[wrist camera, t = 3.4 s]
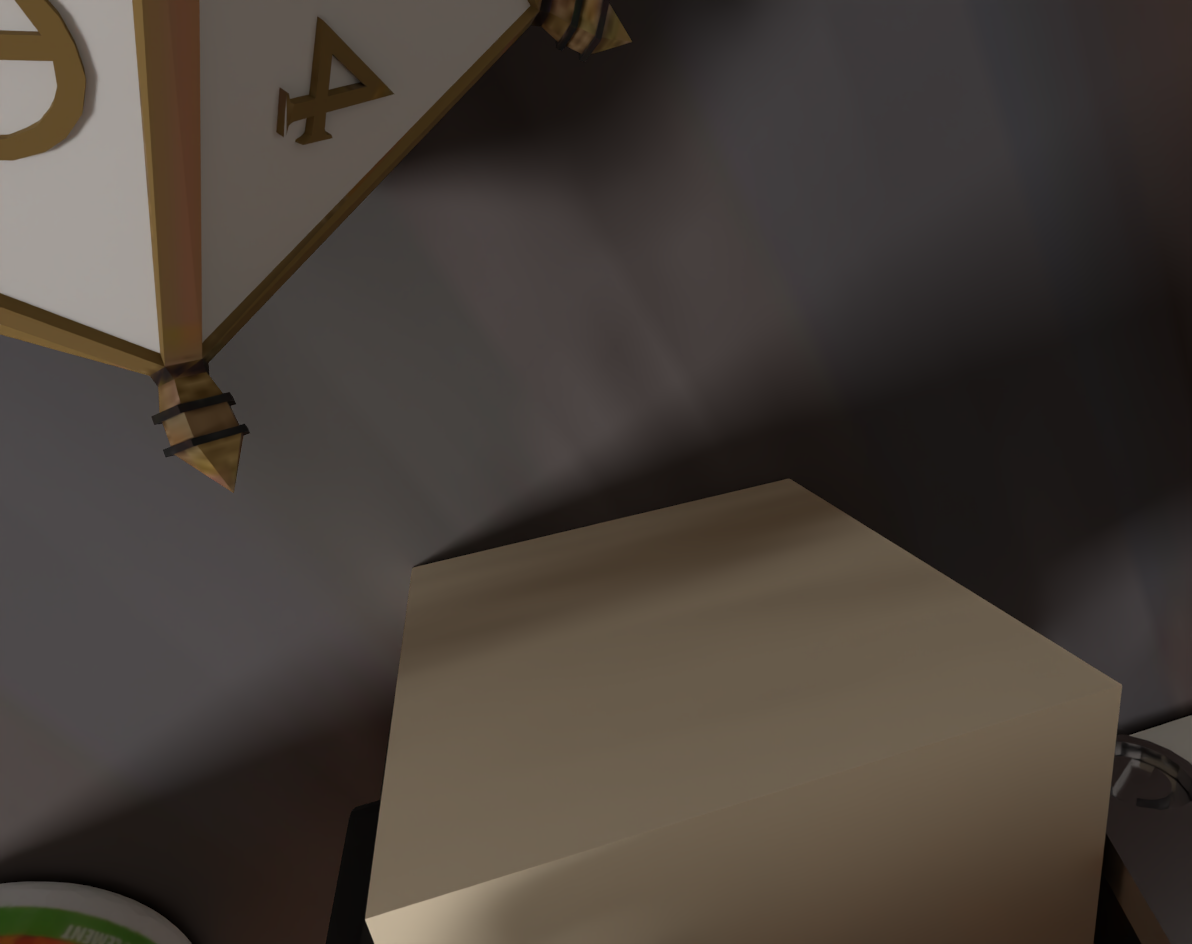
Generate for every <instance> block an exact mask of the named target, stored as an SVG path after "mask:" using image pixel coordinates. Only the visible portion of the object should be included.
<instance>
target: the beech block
mask: <svg viewBox="0 0 1192 944" xmlns="http://www.w3.org/2000/svg"><path fill="white" fill-rule="evenodd" d="M1121 691H1122V685H1121V684H1120V683H1118V682H1116V681H1115V680H1113V679H1112V678H1110V677H1108V676H1107V675H1105V674H1104V673H1102V672H1100V671H1099V670H1097V669H1096V668H1094V667H1092V666H1091V665H1089V664H1087V663H1086V662H1084V661H1083V660H1081V659H1079V658H1078V657H1076V656H1075V655H1073V654H1071V653H1070V652H1068V651H1067V650H1065V649H1063V648H1062V647H1060V646H1058V645H1057V644H1055V643H1054V642H1052V641H1050V640H1049V639H1047V638H1046V637H1044V636H1042V635H1041V634H1039V633H1037V632H1036V631H1034V630H1033V629H1031V628H1029V627H1028V626H1026V625H1025V624H1023V623H1021V622H1020V621H1018V620H1017V619H1015V618H1013V617H1012V616H1010V615H1008V614H1007V613H1005V612H1004V611H1002V610H1000V609H999V608H997V607H996V606H994V605H992V604H991V603H989V602H988V601H986V600H984V599H983V598H981V597H979V596H978V595H976V594H975V593H973V592H971V591H970V590H968V589H967V588H965V587H963V586H962V585H960V584H959V583H957V582H955V581H954V580H952V579H950V578H949V577H947V576H946V575H944V574H942V573H941V572H939V571H938V570H936V569H934V568H933V567H931V566H930V565H928V564H926V563H925V562H923V561H921V560H920V559H918V558H917V557H915V556H913V555H912V554H910V553H909V552H907V551H905V550H904V549H902V548H901V547H899V546H897V545H896V544H894V543H892V542H891V541H889V540H888V539H886V538H884V537H883V536H881V535H880V534H878V533H876V532H875V531H873V530H872V529H870V528H868V527H867V526H865V525H863V524H862V523H860V522H859V521H857V520H855V519H854V518H852V517H851V516H849V515H847V514H846V513H844V512H843V511H841V510H839V509H838V508H836V507H834V506H833V505H831V504H830V503H828V502H826V501H825V500H823V499H822V498H820V497H818V496H817V495H815V494H814V493H812V492H810V491H809V490H807V489H805V488H804V487H802V486H801V485H799V484H797V483H796V482H794V481H793V480H791V479H784V480H780V481H776V482H772V483H768V484H763V485H759V486H755V487H751V488H746V489H742V490H738V491H734V492H730V493H725V494H721V495H717V496H713V497H708V498H704V499H700V500H696V501H692V502H687V503H683V504H679V505H675V506H670V507H666V508H662V509H658V510H654V511H649V512H645V513H641V514H637V515H632V516H628V517H624V518H620V519H616V520H611V521H607V522H603V523H599V524H594V525H590V526H586V527H582V528H578V529H573V530H569V531H565V532H561V533H556V534H552V535H548V536H544V537H540V538H535V539H531V540H527V541H523V542H518V543H514V544H510V545H506V546H502V547H497V548H493V549H489V550H485V551H480V552H476V553H472V554H468V555H464V556H459V557H455V558H451V559H447V560H442V561H438V562H434V563H430V564H426V565H421V566H417V567H413V568H412V574H411V581H410V589H409V596H408V603H407V611H406V618H405V626H404V633H403V641H402V648H401V655H400V663H399V670H398V678H397V685H396V693H395V700H394V707H393V715H392V722H391V730H390V737H389V744H388V752H387V759H386V767H385V774H384V782H383V789H382V796H381V804H380V811H379V819H378V826H377V834H376V841H375V848H374V856H373V863H372V871H371V878H370V885H369V893H368V900H367V908H366V915H365V921H366V923H367V926H368V928H369V931H370V934H371V936H372V939H373V941H374V944H1093V942H1094V933H1095V924H1096V915H1097V906H1098V897H1099V888H1100V879H1101V870H1102V861H1103V852H1104V843H1105V834H1106V825H1107V817H1108V808H1109V799H1110V790H1111V781H1112V772H1113V763H1114V754H1115V745H1116V736H1117V727H1118V718H1119V709H1120V700H1121Z"/></svg>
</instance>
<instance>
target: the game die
mask: <svg viewBox="0 0 1192 944" xmlns="http://www.w3.org/2000/svg"><path fill="white" fill-rule="evenodd" d="M609 2H610V0H0V334H1V335H4V336H8V337H12V338H15V339H19V340H22V341H26V342H30V343H33V344H37V345H41V346H44V347H48V348H51V349H55V350H59V351H62V352H66V353H70V354H73V355H77V356H80V357H84V358H88V359H91V360H95V361H99V362H102V363H106V364H109V365H113V366H117V367H120V368H124V369H128V370H131V371H135V372H138V373H142V374H146V375H149V376H150V377H151V378H152V379H153V381H154V382H155V383H156V385H157V386H158V389H159V410H160V413H158V414H156V415H154V416H152V420H153V422H154V425H156V424H162V423H163V426H164V428H165V431H166V434H167V437H168V439H169V442H170V445H171V447H169V448H167V449H164V450H163V451H164V454H165V457H169V456H173V455H176V456H177V457H179V458H181V459H182V460H184V461H185V462H187V463H188V464H190V465H191V466H193V467H194V468H196V469H197V470H199V471H201V472H202V473H204V474H205V475H207V476H208V477H210V478H211V479H213V480H214V481H216V482H217V483H219V484H221V485H222V486H224V487H225V488H227V489H228V490H230V491H231V492H233V493H234V488H235V482H236V476H237V470H238V464H239V458H240V452H241V446H242V440H243V435H246V434H249V433H250V432H249V430H248V428H247V426H246V425H245V424H243V425H239V424H238V421H237V419H236V417H235V415H234V413H233V411H232V409H231V405H235V404H236V403H235V401H234V399H233V397H232V395H231V394H230V392H228V393H224V394H223V393H222V392H221V390H220V389H219V388H218V387H217V385H216V384H215V383H214V381H213V380H212V379H211V377H210V376H209V366H208V363H209V361H210V360H211V359H212V358H213V357H214V356H215V355H216V354H217V353H218V352H219V351H220V350H221V349H222V348H223V347H224V346H225V345H226V344H227V343H228V342H229V341H230V339H231V338H232V337H233V336H234V335H235V334H236V333H237V332H238V331H239V330H240V329H241V328H242V327H243V326H244V325H245V324H246V323H247V322H248V321H249V320H250V319H251V317H252V316H253V315H254V314H255V313H256V312H257V311H258V310H259V309H260V308H261V307H262V306H263V305H264V304H265V303H266V302H267V301H268V300H269V299H270V298H271V297H272V296H273V294H274V293H275V292H276V291H277V290H278V289H279V288H280V287H281V286H282V285H283V284H284V283H285V282H286V281H287V280H288V279H289V278H290V277H291V276H292V275H293V274H294V272H295V271H296V270H297V269H298V268H299V267H300V266H301V265H302V264H303V263H304V262H305V261H306V260H307V259H308V258H309V257H310V256H311V255H312V254H313V253H314V252H315V250H316V249H317V248H318V247H319V246H320V245H321V244H322V243H323V242H324V241H325V240H326V239H327V238H328V237H329V236H330V235H331V234H332V233H333V232H334V231H335V230H336V228H337V227H338V226H339V225H340V224H341V223H342V222H343V221H344V220H345V219H346V218H347V217H348V216H349V215H350V214H351V213H352V212H353V211H354V210H355V209H356V208H357V206H358V205H359V204H360V203H361V202H362V201H363V200H364V199H365V198H366V197H367V196H368V195H369V194H370V193H371V192H372V191H373V190H374V189H375V188H376V187H377V186H378V184H379V183H380V182H381V181H382V180H383V179H384V178H385V177H386V176H387V175H388V174H389V173H390V172H391V171H392V170H393V169H394V168H395V167H396V166H397V165H398V164H399V163H400V161H401V160H402V159H403V158H404V157H405V156H406V155H407V154H408V153H409V152H410V151H411V150H412V149H413V148H414V147H415V146H416V145H417V144H418V143H419V142H420V141H421V139H422V138H423V137H424V136H425V135H426V134H427V133H428V132H429V131H430V130H431V129H432V128H433V127H434V126H435V125H436V124H437V123H438V122H439V121H440V120H441V119H442V117H443V116H444V115H445V114H446V113H447V112H448V111H449V110H450V109H451V108H452V107H453V106H454V105H455V104H456V103H457V102H458V101H459V100H460V99H461V98H462V97H463V95H464V94H465V93H466V92H467V91H468V90H469V89H470V88H471V87H472V86H473V85H474V84H475V83H476V82H477V81H478V80H479V79H480V78H481V77H482V76H483V75H484V73H485V72H486V71H487V70H488V69H489V68H490V67H491V66H492V65H493V64H494V63H495V62H496V61H497V60H498V59H499V58H500V57H501V56H502V55H503V54H504V53H505V51H506V50H507V49H508V48H509V47H510V46H511V45H512V44H513V43H514V42H515V41H516V40H517V39H518V38H519V37H520V36H521V35H522V34H523V33H524V32H525V31H526V30H527V28H528V27H529V26H530V25H533V26H541V27H542V28H543V29H544V30H546V31H547V32H548V33H549V34H550V35H551V36H552V37H553V38H554V39H555V40H556V48H557V49H559V50H561V51H562V50H563V49H564V47H565V46H567V47H569V48H571V49H573V50H575V51H577V52H579V60H581V61H583V62H585V61H586V60H587V58H588V57H589V56H590V55H591V54H594V53H597V52H601V51H604V50H607V49H611V48H614V47H617V46H621V45H624V44H627V43H631V42H632V41H631V39H630V37H629V36H628V34H627V32H626V30H625V29H624V27H623V25H622V24H621V22H620V20H619V19H618V17H617V15H616V14H615V12H614V10H613V9H612V7H611V5H610V4H609Z"/></svg>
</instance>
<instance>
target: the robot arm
mask: <svg viewBox="0 0 1192 944" xmlns="http://www.w3.org/2000/svg"><path fill="white" fill-rule="evenodd" d="M392 715H393V710H392ZM391 722H392V716H391ZM390 730H391V723H390ZM389 737H390V731H389ZM388 744H389V738H388ZM387 752H388V745H387ZM387 752H386V759H387ZM385 767H386V760H385ZM385 767H384V774H385ZM384 774H383V782H384ZM383 782H382V789H383ZM382 789H381V796H382ZM381 796H380V800H379V801H376V802H372V803H369V804H365V805H362V806H358V807H355V808H354V809H353V811H352V812H351V815H350V819H349V823H348V828H347V833H346V839H345V844H344V849H343V855H342V860H341V865H340V871H339V876H338V881H337V887H336V892H335V897H334V902H333V908H332V913H331V918H330V924H329V929H328V934H327V940H326V944H374V941H373V939H372V936H371V934H370V931H369V928H368V926H367V923H366V921H365V915H366V908H367V900H368V893H369V885H370V878H371V871H372V863H373V856H374V848H375V841H376V834H377V826H378V819H379V811H380V804H381ZM1093 944H1192V764H1191V763H1190V762H1189V761H1187V760H1185V759H1184V758H1182V757H1181V756H1179V755H1177V754H1176V753H1174V752H1173V751H1171V750H1169V749H1167V748H1165V747H1162V746H1160V745H1158V744H1155V743H1153V742H1151V741H1148V740H1144V739H1140V738H1137V737H1133V736H1129V735H1122V734H1117V736H1116V745H1115V754H1114V763H1113V772H1112V781H1111V790H1110V799H1109V808H1108V817H1107V825H1106V834H1105V843H1104V852H1103V861H1102V870H1101V879H1100V888H1099V897H1098V906H1097V915H1096V924H1095V933H1094V942H1093Z"/></svg>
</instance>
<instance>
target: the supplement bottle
mask: <svg viewBox="0 0 1192 944" xmlns="http://www.w3.org/2000/svg"><path fill="white" fill-rule="evenodd" d="M0 944H192V943H191V942H190V941H189V939H188V938H187V937H186V936H185V935H184V934H183V933H182V932H181V931H180V930H179V929H178V928H177V927H176V926H175V925H173V924H172V923H171V922H170V921H169V920H167V919H166V918H165V917H163V916H162V915H160V914H159V913H157V912H156V911H154V910H153V909H151V908H149V907H147V906H145V905H143V904H141V903H139V902H137V901H135V900H133V899H130V898H128V897H125V896H122V895H120V894H117V893H114V892H110V891H107V890H104V889H100V888H96V887H91V886H86V885H80V884H74V883H63V882H32V881H25V882H12V883H3V884H0Z"/></svg>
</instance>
